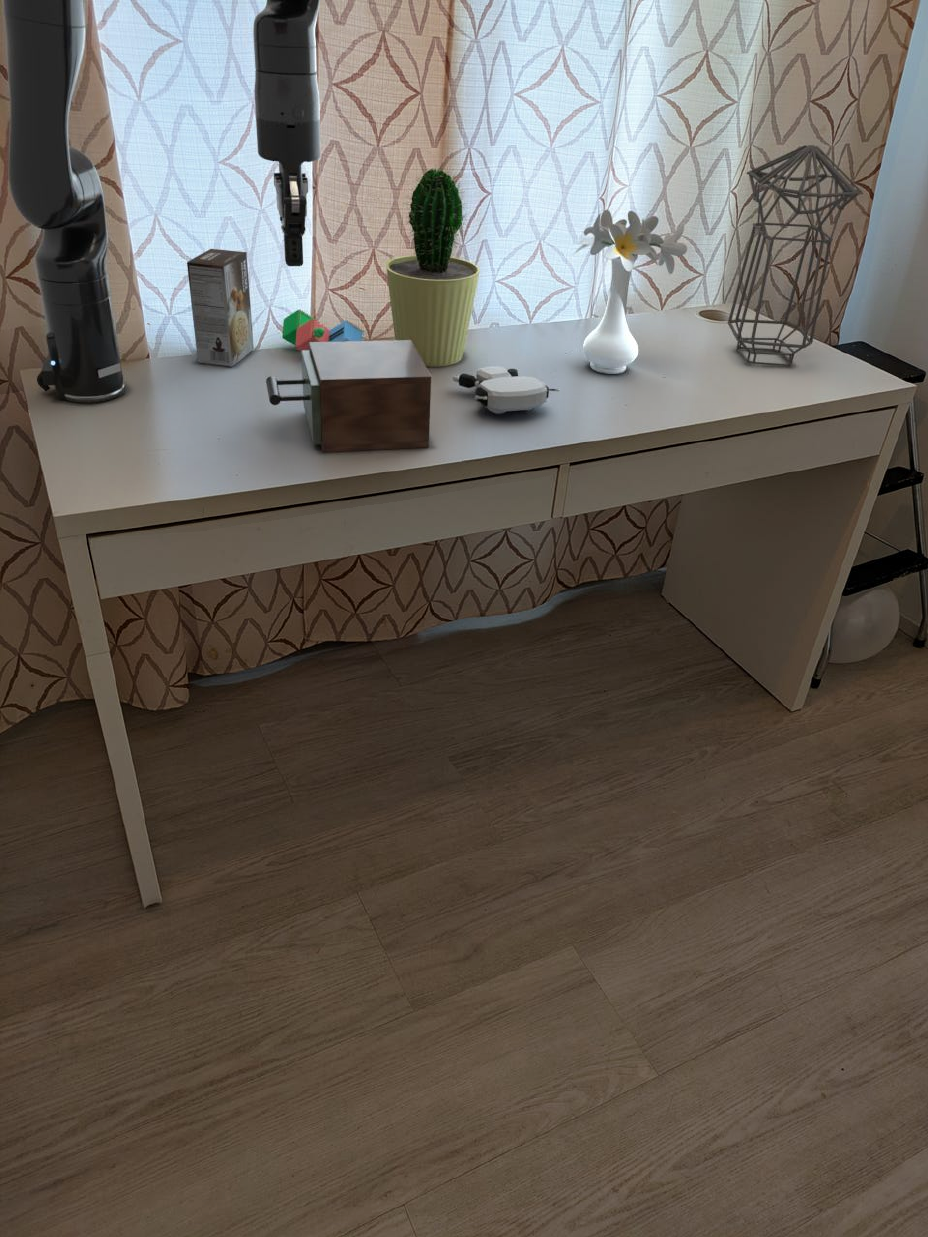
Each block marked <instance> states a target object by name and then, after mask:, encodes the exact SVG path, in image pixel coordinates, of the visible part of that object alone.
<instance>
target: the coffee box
mask: <svg viewBox="0 0 928 1237" xmlns="http://www.w3.org/2000/svg"><path fill="white" fill-rule="evenodd" d="M186 266H187V277H188V284H189V293H190V294H189V295H190V302H191V312H192V313H191V314H192V321H193V330H194V341H195V349H196V359H197V363H199V364H200V363H201V364H206V365H215V366H224V367H231V368H233V367H235V365H237V364H238V363H239V362H240V361H242V359H244V358H245V357H246V356H248V355H249V354H250V353H251V352H253V350H255V347H254V346H255V345H254V333H253V332H254V331H253V322H252V321H253V320H252V318H253V317H252V307H251V306H252V305H251V294H250V281H249V280H250V279H249V268H248V252H247V251H239V250H238V251H237V250H228V249H217V248H209V249H207V250H206V251H204V252H202V253H200V254H199V255H197V256H195V257H194V258H192V259H190V260H188V261H187V262H186Z"/></svg>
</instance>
